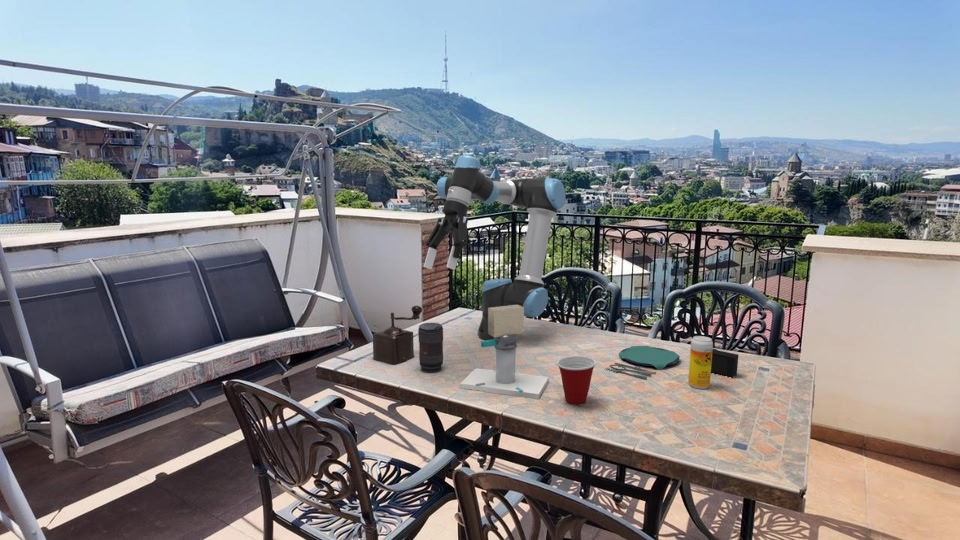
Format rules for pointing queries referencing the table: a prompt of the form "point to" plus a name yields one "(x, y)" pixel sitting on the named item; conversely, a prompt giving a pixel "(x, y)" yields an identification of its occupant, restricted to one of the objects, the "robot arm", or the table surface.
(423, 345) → the camera lens
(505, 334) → the beige boxy piece
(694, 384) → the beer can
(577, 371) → the plastic cup
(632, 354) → the cutlery set
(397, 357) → the manual coffee grinder
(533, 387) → the base
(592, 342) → the table surface
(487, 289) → the robot arm
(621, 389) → the table surface
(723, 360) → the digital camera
